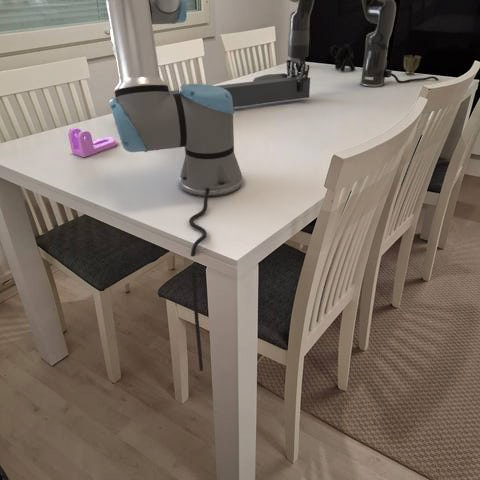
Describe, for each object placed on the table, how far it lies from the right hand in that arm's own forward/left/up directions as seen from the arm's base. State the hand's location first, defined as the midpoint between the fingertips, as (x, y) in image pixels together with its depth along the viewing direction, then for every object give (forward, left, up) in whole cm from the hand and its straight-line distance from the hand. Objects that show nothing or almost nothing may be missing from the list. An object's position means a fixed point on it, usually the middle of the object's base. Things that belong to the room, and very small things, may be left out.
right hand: (296, 90), depth 172 cm
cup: (-72, -3, -4) cm, 73 cm away
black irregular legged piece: (-56, -29, -4) cm, 63 cm away
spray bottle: (-14, -30, -4) cm, 34 cm away
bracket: (+81, +5, -4) cm, 82 cm away
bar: (+31, -6, -3) cm, 31 cm away
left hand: (+61, -13, -2) cm, 63 cm away
